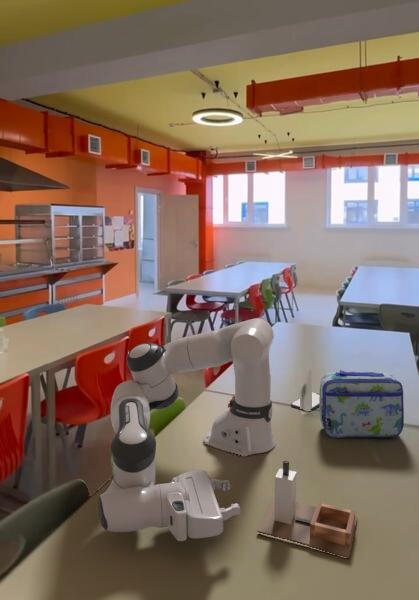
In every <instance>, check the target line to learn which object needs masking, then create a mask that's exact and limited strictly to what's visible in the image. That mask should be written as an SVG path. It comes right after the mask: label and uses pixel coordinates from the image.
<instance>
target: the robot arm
mask: <svg viewBox="0 0 419 600" xmlns="http://www.w3.org/2000/svg"><path fill="white" fill-rule="evenodd" d="M273 341H274V331H273V327H272V325H271V324H270V323H269V322H268V321H267V320H266V319H263V318H260V317H256V318H252V319H247V320H244V321H240V322H237V323H234V324H230V325H227V326H224V327H221V328H218V329H215V330H209V331H206V332H202V333H201V332H200V333H197V334H192V335H188V336H184V337H180V338H178V339H175V340H172V341H170V342H168V343H166V344H165V345H162V344H156V343H154V342H153V343H152V342H144V343H140V344H137V345H136V346H134V347H133V348H132V349H130V351H129V352H128V353H127V356H126V364H127V368H128V370H129V371H130V373H131V375H132V378H133V380H126V381H125V380H124V381H123V382H121V383H118V385H117V386H116V388H115V389H114V390H113V391H114V392H113V394H112V397H111V403H110V422H111V425H112V429H113V432H114V433H115V435H114V436H113V438H112V440H111V443H110V450H111V457H112V469H113V478H112V481H111V483H110V485H109V487H108V488H107V489H106V490H105V492H103V493H101V494H99V496H98V501H97V503H98V504H97V505H98V512H99V519H100V523H101V526H102V528H103V529H104V530H105V531H107V532H109V533H110V532H111V533H129V532H137V531H138V532H139V531H143V530H145V529H148V528H152V527H153V528H158V529H160V528H167V530H169V532H170V533H171V534H172V535H173V537H174V539H176V540H177V541H178V542H184V541H186V540H187V538H190V539H205V538H212V537H217V536H220V535H221V534H222V533H223V531H224V521H227V520H229V519H230V518H232V517H233V516H239V515H240V514H241V506H240V504H239V503H230V506H229V507H227V508H225V507H220V505H219V503H218V501H217V497H216V495H215V492H214V490H216V489H217V490H222V492H225V491H226V492H227V491H230V490H231V484H230V481H229V480H228V479H227V480H225V479H224V480H222V479H217V478H210V477H209V474H208V472H207V471H206V470H202V469H197V470H191V471H187V472H183V473H181V474H178V475H177V476H175V477H173V478H171V480H170V481H169V482H166V483H158V484H157V483H156V451H157V450H156V449H157V441H156V440H157V439H156V438H155V436H154V434H153V433H152V432H151V431H150V430H149V427H150V421H151V410H164V409H167V408H169V407H171V406H172V405H174V403H175V402H176V401H177V400H178V397H179V389H178V384H177V383H176V381H175V379H174V374H176V373H185V372H193V371H199V370H204V369H205V370H206V369H208V368H209V369H210V368H215V367H219V366H223V365H225V364H227V363H230V362H232V366H233V370H234V395H232V397H231V399H230V400H229V402H228V403H227V408H228V409H227V410H226V411H224V412H223V413H221V414H219V415H218V416H217V417H216V418H215V419H214V421H213V423H212V426H211V429H209V430H208V431H207V432H206V434H205V435H204V438H203V443H204V442H205V443H204V445H206V444H208V445H207V446H209V445H210V446H209V447H212V446H213V447H212V448H216V449H218V450H221V451H224V452H228V453H230V452H231V454H233V453H235V454H234V455H236V454H238V455H237V456H240V455H241V456H240V457H248V455H249V456H252V455H256V454H257V455H258V454H262V453H266V452H269V451H271V450H272V449H274V448H275V447H276V441H275V437H274V433H273V427H272V425H273V424H272V418H273V400H272V399H271V398H272V397H271V396H272V395H271V393H272V391H271V390H272V386H271V385H272V379H271V378H272V377H271V369H270V349H271V346H272V344H273Z"/></svg>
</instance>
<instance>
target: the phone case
mask: <svg viewBox="0 0 419 600" xmlns="http://www.w3.org/2000/svg"><path fill="white" fill-rule="evenodd" d="M311 392H312V408H311V409H310V410H313V411H314V410H317V408H318V409H319V396H320V393H317V392H313V391H311ZM290 407H292V408H294V409H298V410H300V398H298V399H296V400H295V401H292V402H291V403H290Z"/></svg>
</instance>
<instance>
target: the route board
mask: <svg viewBox="0 0 419 600" xmlns="http://www.w3.org/2000/svg"><path fill="white" fill-rule="evenodd" d="M274 511H275V496H274V497H273V499H272V502H271V503H270V505H269V507H268V509H267V510H266V513H265V515H264V517H263V518H262V521H261V523H260V524H259V527H258V529H257V532H259V533H263V534H267V535H271V536H274V537H279V538H282V539H287V540H290V541H293V542H297V543H300V544H303V545H307V546H309V547H312V548H316V549H319V550H322V551H325V552H329V553H332V554H335V555H339V556H343V557H346V558H349V559H350V557H351V556H350V555H351V552H350V551H352V546H353V543H354V538H353V537H354V536H355V533H356V532H355V531H356V527H357V522H358V516H357V515H356V511H355V510H351V509H347V508H343V507H339V506H338V507H337V506H334V505H330V504H326V503H323V502H317V504H316V506H314V505H310V504H305V503H301V502H297V501H296V513H295V517H294V519H293V522H292V524H287V523H283V522H279V521H275V520H274ZM354 532H355V533H354ZM352 542H353V543H352ZM349 556H350V557H349Z"/></svg>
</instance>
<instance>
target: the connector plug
mask: <svg viewBox="0 0 419 600" xmlns="http://www.w3.org/2000/svg"><path fill="white" fill-rule="evenodd" d="M274 497H275V511H274V520H275V521H279V522H283V523H287V524H292V522H293V519H294V517H295V513H296V502H297V471H293V470H290V462H289V460H283V461H282V468H279V469H278V471H277V472H276V475H275V476H274Z"/></svg>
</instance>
